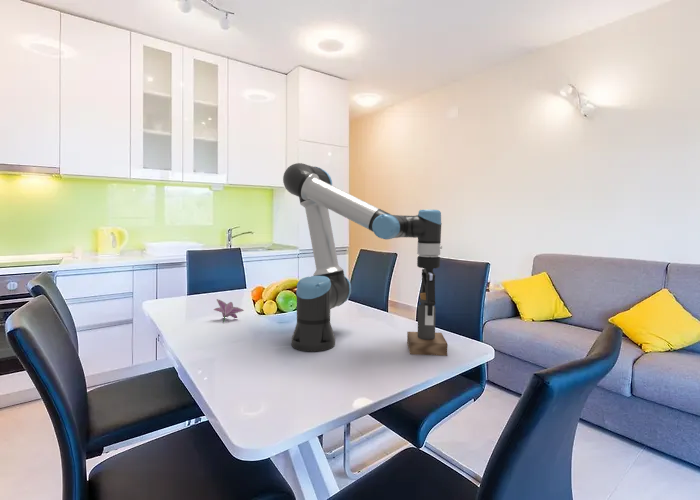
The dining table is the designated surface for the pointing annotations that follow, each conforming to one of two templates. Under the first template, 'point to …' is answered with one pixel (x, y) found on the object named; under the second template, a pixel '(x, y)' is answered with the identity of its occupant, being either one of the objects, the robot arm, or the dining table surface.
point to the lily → (227, 309)
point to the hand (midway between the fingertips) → (426, 320)
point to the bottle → (424, 330)
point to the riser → (426, 345)
